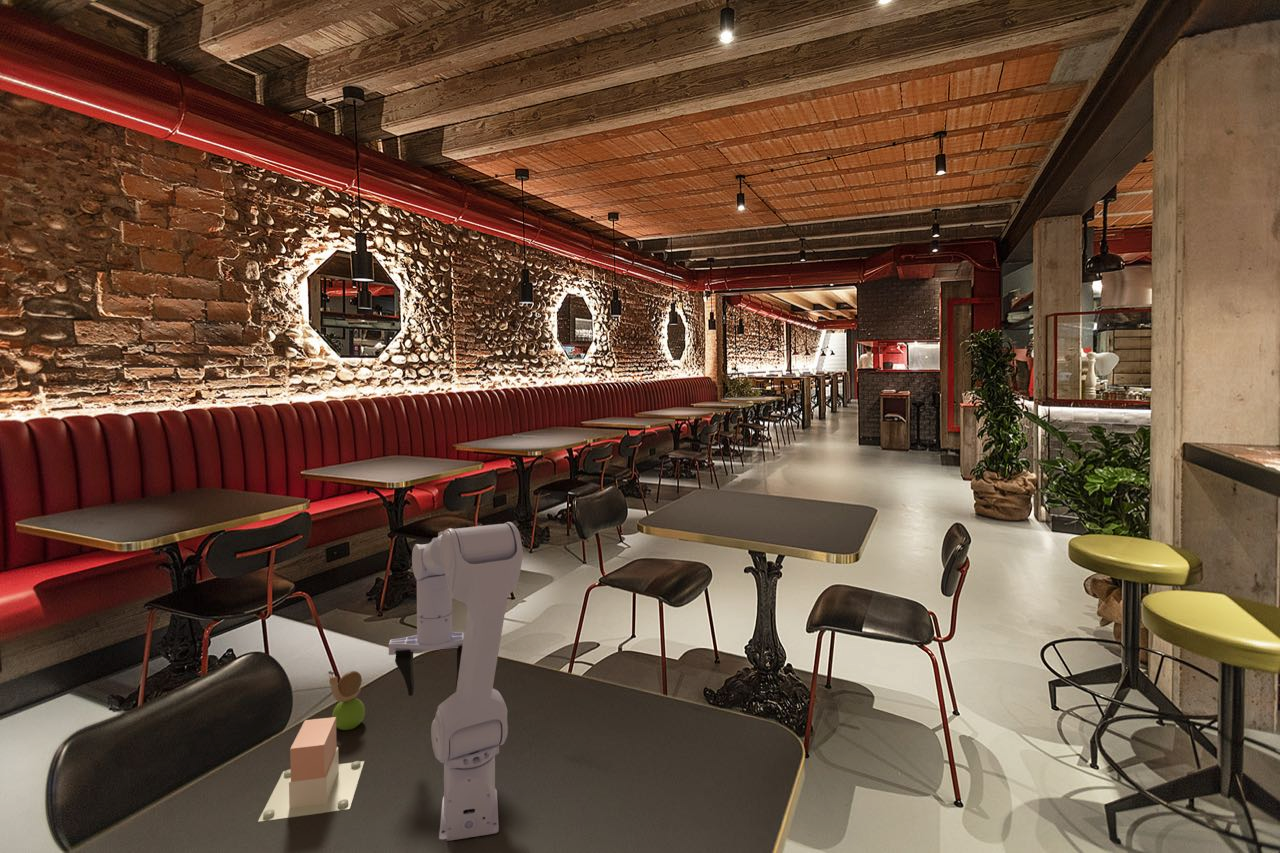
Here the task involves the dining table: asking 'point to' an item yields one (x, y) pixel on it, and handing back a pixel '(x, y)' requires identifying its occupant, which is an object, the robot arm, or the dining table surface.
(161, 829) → the dining table surface
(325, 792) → the bottom brick
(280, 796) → the baseplate
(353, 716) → the snail figurine
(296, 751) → the top brick
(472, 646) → the robot arm
